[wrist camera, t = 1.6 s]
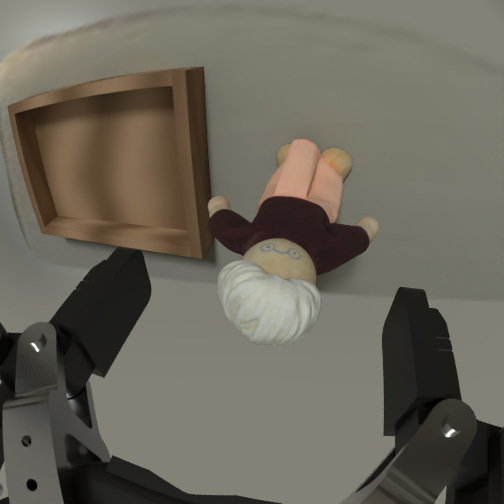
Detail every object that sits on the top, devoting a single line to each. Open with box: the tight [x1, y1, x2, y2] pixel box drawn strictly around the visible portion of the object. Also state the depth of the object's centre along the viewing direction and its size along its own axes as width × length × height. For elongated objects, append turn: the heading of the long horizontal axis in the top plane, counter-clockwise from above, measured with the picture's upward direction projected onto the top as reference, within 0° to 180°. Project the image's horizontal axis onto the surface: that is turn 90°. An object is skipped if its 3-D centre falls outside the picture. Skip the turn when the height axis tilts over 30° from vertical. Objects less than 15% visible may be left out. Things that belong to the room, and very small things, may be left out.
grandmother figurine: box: [207, 139, 379, 345], centre depth 14 cm, size 8×4×13 cm, turn 100°
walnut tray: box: [8, 67, 214, 259], centre depth 20 cm, size 16×12×2 cm
